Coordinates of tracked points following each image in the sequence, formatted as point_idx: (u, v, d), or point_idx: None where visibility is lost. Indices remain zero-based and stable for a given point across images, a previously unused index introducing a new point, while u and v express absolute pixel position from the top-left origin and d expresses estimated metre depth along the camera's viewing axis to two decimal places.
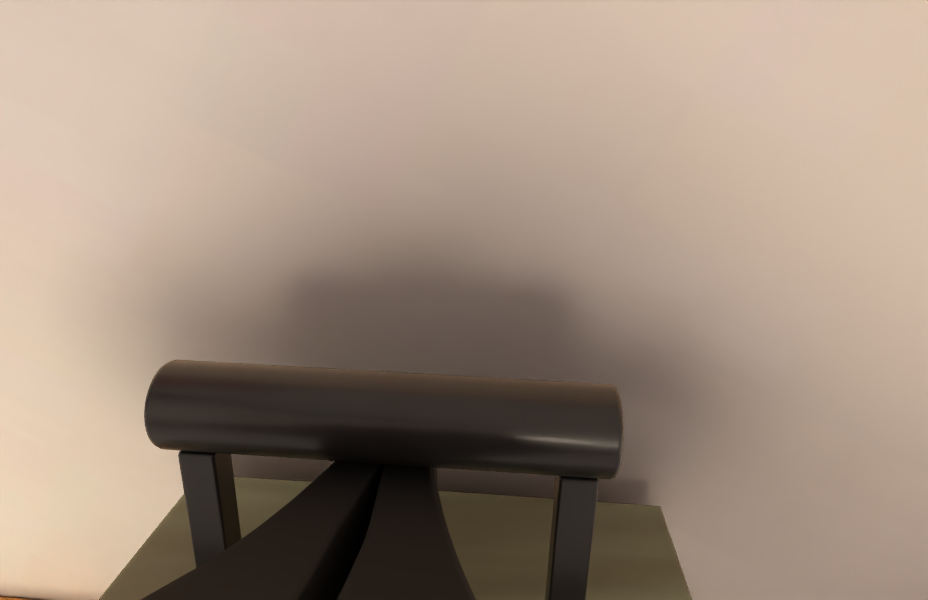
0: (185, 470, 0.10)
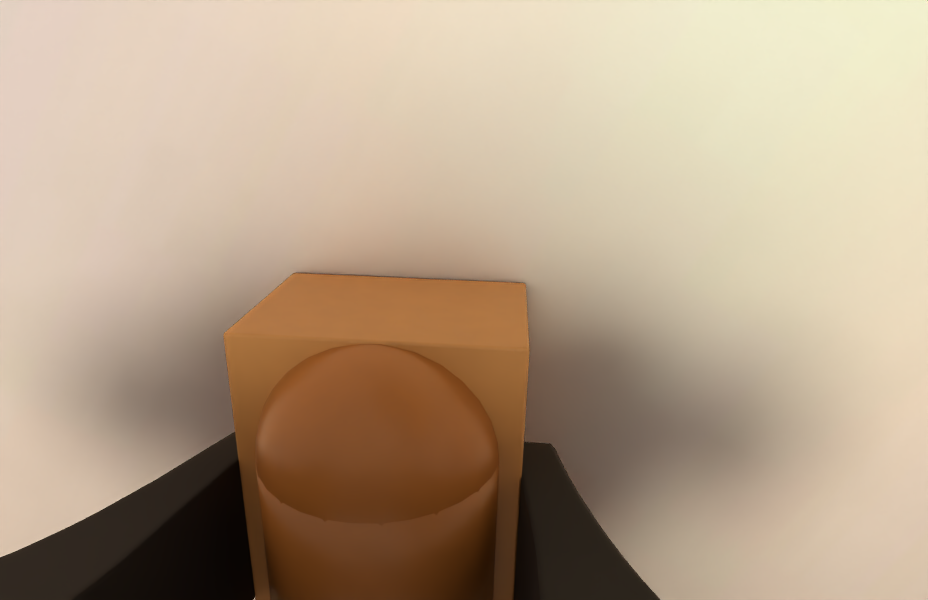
0: None
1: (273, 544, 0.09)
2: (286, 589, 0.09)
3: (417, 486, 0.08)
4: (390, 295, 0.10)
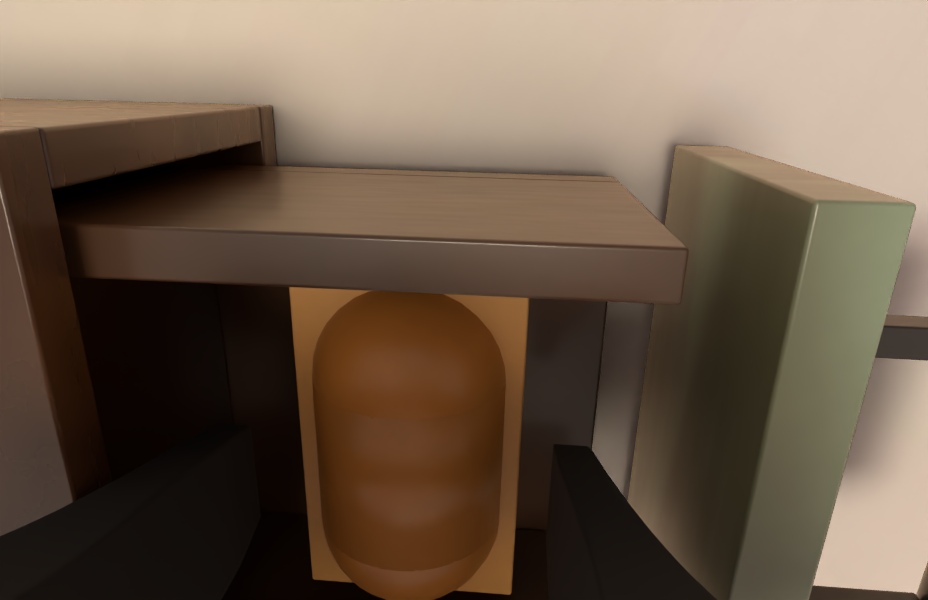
0: None
1: (328, 444, 0.11)
2: (337, 480, 0.11)
3: (443, 391, 0.10)
4: None
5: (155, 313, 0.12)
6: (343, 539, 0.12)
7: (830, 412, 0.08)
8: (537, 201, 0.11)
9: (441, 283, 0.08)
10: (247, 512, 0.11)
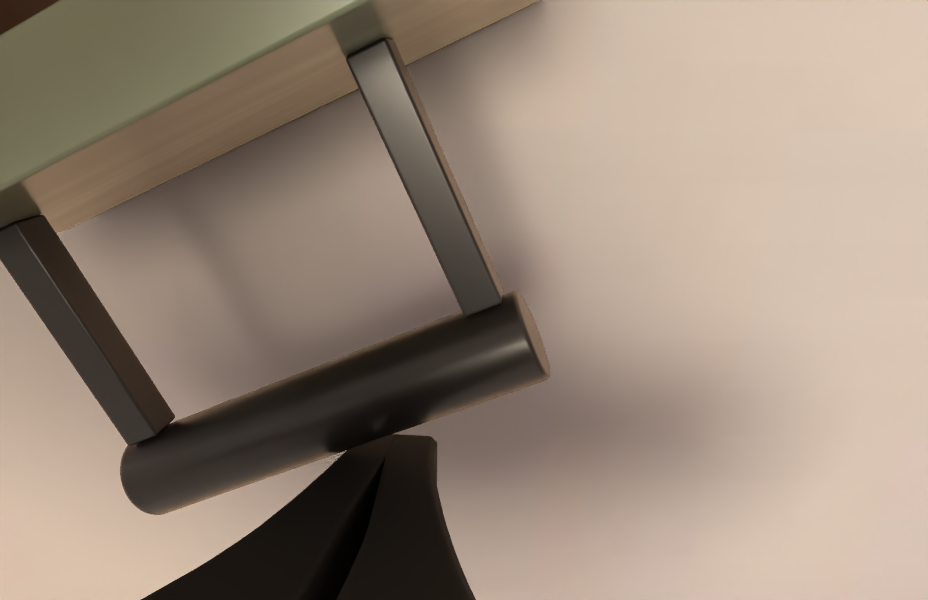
0: (487, 287, 0.09)
1: None
2: None
3: None
4: None
5: None
6: None
7: None
8: None
9: None
10: None
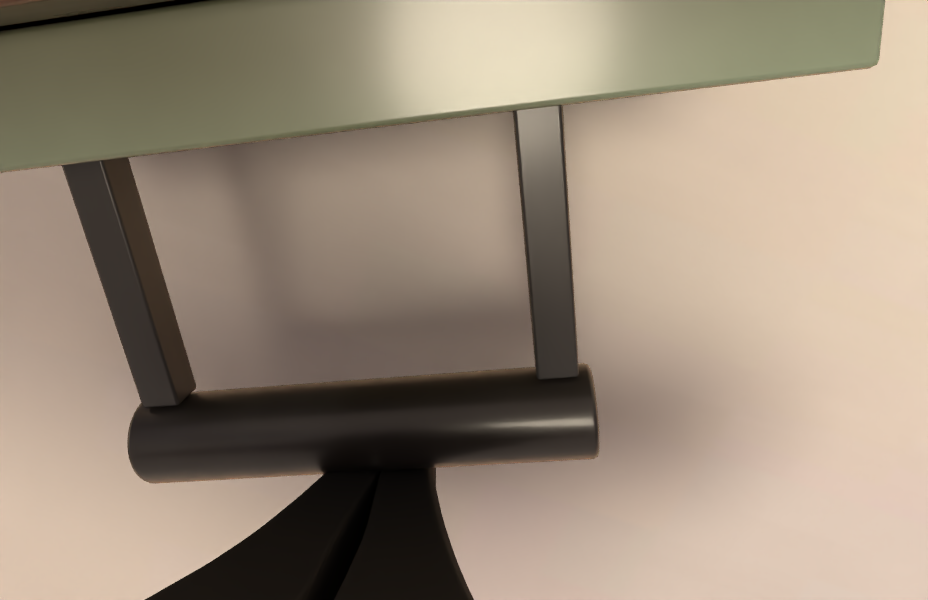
0: (570, 358, 0.08)
1: None
2: None
3: None
4: None
5: None
6: None
7: (525, 59, 0.05)
8: None
9: None
10: None
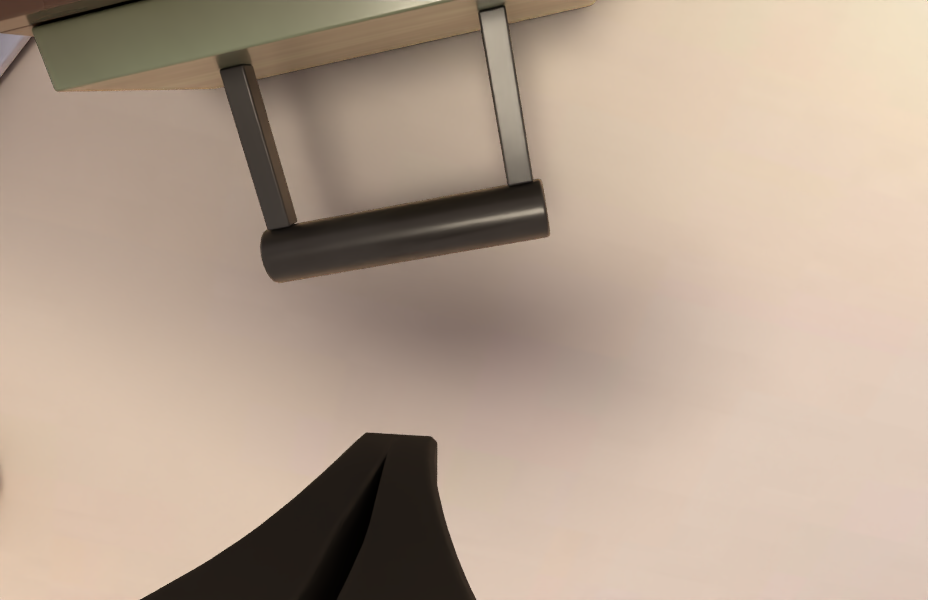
0: (526, 169, 0.14)
1: None
2: None
3: None
4: None
5: None
6: None
7: None
8: None
9: None
10: None
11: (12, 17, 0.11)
